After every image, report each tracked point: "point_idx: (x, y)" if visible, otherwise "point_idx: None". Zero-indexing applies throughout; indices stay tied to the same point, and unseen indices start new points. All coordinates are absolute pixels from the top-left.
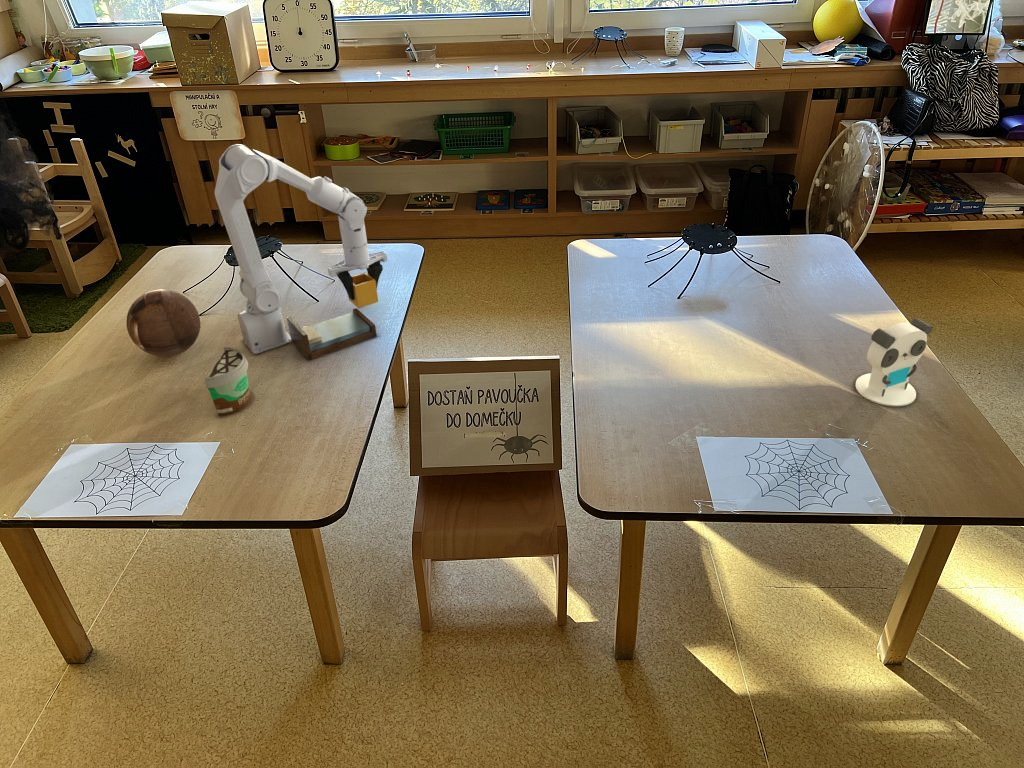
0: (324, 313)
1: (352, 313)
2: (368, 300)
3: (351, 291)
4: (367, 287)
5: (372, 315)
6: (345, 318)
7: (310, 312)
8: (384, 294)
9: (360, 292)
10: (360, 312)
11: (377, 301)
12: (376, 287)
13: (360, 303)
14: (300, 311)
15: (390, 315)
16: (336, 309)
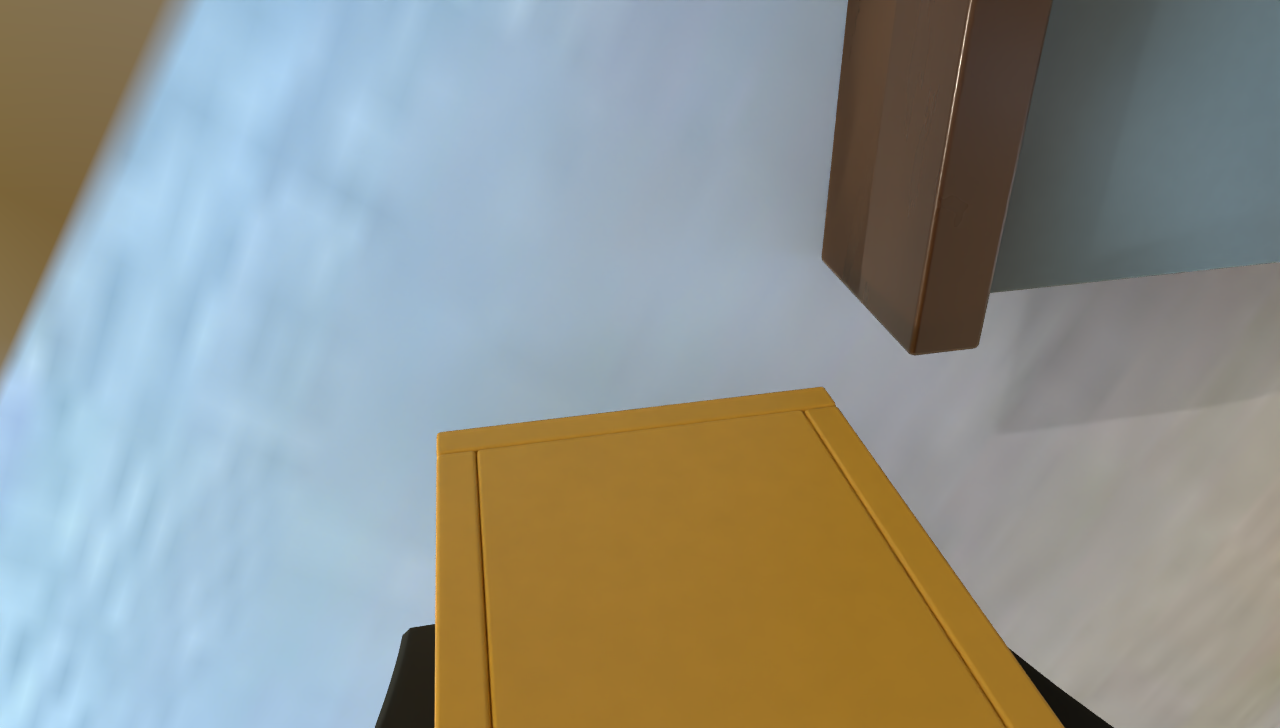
0: (1016, 569)
1: (1032, 245)
2: (643, 465)
3: None
4: (695, 696)
5: (593, 266)
6: (1213, 148)
7: (1091, 634)
8: (221, 692)
9: (866, 604)
10: (962, 157)
11: (456, 438)
12: (397, 713)
13: (803, 439)
14: (1134, 677)
15: (320, 102)
16: None
